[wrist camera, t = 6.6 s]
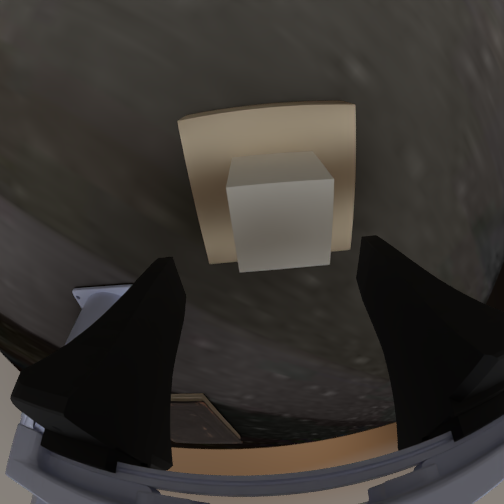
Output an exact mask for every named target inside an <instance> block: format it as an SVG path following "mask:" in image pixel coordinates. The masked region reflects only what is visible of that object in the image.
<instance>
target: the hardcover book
mask: <svg viewBox="0 0 504 504" xmlns="http://www.w3.org/2000/svg"><path fill="white" fill-rule="evenodd" d="M170 434H171V440H172V441H174V442H179V443H201V444H232V443H242V441H241V440H240V435H239V434H238V433H237V432H236V431H235V430H234V429H233V427H232V426H231V425H230V424H229V423H228V422H227V421H226V420H225V419H224V418H223V416H222V415H221V414H220V413H219V412H218V411H217V410H216V408H215V407H214V406H213V405H212V404H211V403H210V401H209V400H208V399H207V398H206V397H205V395H204V394H203V393H198V394H171V407H170Z"/></svg>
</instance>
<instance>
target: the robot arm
mask: <svg viewBox="0 0 504 504" xmlns="http://www.w3.org/2000/svg"><path fill="white" fill-rule="evenodd" d="M356 279H357V283H358V286H359V290H360V293H361V297H362V300H363V302H364V305H365V307H366V310H367V312H368V314H369V317H370V319H371V322H372V324H373V326H374V329H375V331H376V334H377V336H378V339H379V341H380V344H381V346H382V349H383V352H384V356H385V360H386V364H387V368H388V372H389V376H390V381H391V387H392V392H393V398H394V405H395V413H396V423H397V437H398V450H399V451H397V452H393V453H390V454H387V455H383V456H380V457H376V458H372V459H369V460H365V461H361V462H356V463H352V464H347V465H342V466H337V467H332V468H326V469H320V470H313V471H305V472H298V473H287V474H275V475H255V476H221V475H202V474H189V473H179V472H171V471H166V470H168V469H170V468H171V467H172V466H173V463H172V451H171V434H170V407H171V387H172V375H173V368H174V363H175V358H176V353H177V349H178V344H179V340H180V335H181V330H182V326H183V321H184V314H185V303H186V294H185V291H184V289H183V286H182V283H181V280H180V278H179V275H178V272H177V269H176V266H175V263H174V260H173V257H166V258H158V259H157V260H156V261H155V262H153V263H152V264H151V266H150V267H149V268H148V269H147V270H146V271H145V272H144V273H143V274H142V275H141V276H140V277H139V278H138V279H137V280H136V282H135V283H134V284H127V285H114V286H100V287H85V288H74V289H73V291H72V293H73V295H74V297H75V298H76V300H77V302H78V303H79V305H80V306H81V308H82V310H81V312H80V314H79V316H78V318H77V320H76V322H75V324H74V326H73V329H72V331H71V333H70V335H69V337H68V339H67V341H66V343H65V346H63V347H62V348H60V349H59V350H57V351H56V352H54V353H52V354H51V355H49V356H47V357H46V358H44V359H42V360H40V361H39V362H37V363H35V364H33V365H31V366H29V367H27V368H25V369H23V370H22V371H21V372H20V375H19V377H18V380H17V382H16V384H15V387H14V389H13V392H12V394H11V401H12V403H13V404H14V405H15V406H16V407H17V408H18V409H19V410H20V411H21V412H22V414H21V421H20V424H18V426H17V429H16V433H15V436H14V440H13V443H12V447H11V451H10V455H9V459H8V463H7V468H6V475H7V476H8V477H9V478H11V479H12V480H14V481H15V482H16V483H18V484H19V485H21V486H22V487H24V488H25V489H27V490H28V491H30V492H31V493H32V494H33V496H32V500H31V504H210V503H204V502H197V501H192V500H189V499H183V498H176V497H171V496H165V495H161V494H160V492H159V491H158V490H157V489H159V490H165V491H172V492H179V493H187V494H196V495H208V496H209V495H210V496H228V497H255V496H256V497H258V496H277V495H290V494H300V493H308V492H315V491H322V490H328V489H333V488H338V487H344V486H348V485H353V484H357V483H361V482H365V481H369V480H373V479H376V478H380V477H383V476H387V475H390V474H393V473H396V472H399V471H402V470H405V469H408V468H411V467H413V466H416V465H417V466H416V467H415V468H414V471H413V472H411V473H408V474H405V475H403V476H400V477H397V478H394V479H392V480H388V481H386V482H385V483H383V484H380V485H377V486H375V487H372V488H369V490H368V495H369V501H368V502H364V503H360V504H474V503H475V502H476V501H478V500H479V499H480V498H482V497H483V496H484V495H486V494H487V493H488V492H490V491H491V490H492V489H493V488H494V487H496V486H497V485H498V484H499V483H500V482H502V481H503V480H504V312H503V311H500V310H498V309H495V308H493V307H490V306H488V305H486V304H483V303H481V302H479V301H477V300H475V299H473V298H471V297H469V296H467V295H465V294H463V293H461V292H460V291H458V290H456V289H454V288H453V287H451V286H449V285H448V284H446V283H444V282H443V281H441V280H439V279H438V278H436V277H435V276H433V275H432V274H430V273H429V272H427V271H426V270H424V269H423V268H422V267H420V266H419V265H417V264H416V263H414V262H413V261H412V260H410V259H409V258H408V257H406V256H405V255H404V254H402V253H401V252H399V251H398V250H397V249H395V248H394V247H393V246H391V245H390V244H388V243H387V242H386V241H384V240H383V239H381V238H380V237H378V236H376V235H375V236H365V237H362V239H361V247H360V255H359V263H358V270H357V277H356Z"/></svg>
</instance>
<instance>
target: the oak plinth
mask: <svg viewBox="0 0 504 504" xmlns="http://www.w3.org/2000/svg"><path fill="white" fill-rule="evenodd" d="M177 122H178V127H179V132H180V137H181V142H182V147H183V152H184V157H185V162H186V166H187V171H188V176H189V180H190V185H191V189H192V193H193V198H194V202H195V207H196V211H197V215H198V219H199V223H200V228H201V232H202V236H203V240H204V244H205V248H206V252H207V256H208V260H209V264H216V263H226V262H236V261H238V260H237V254H236V248H235V241H234V235H233V229H232V223H231V217H230V210H229V204H228V198H227V191H226V185H227V180H228V175H229V170H230V165H231V160H232V157H240V156H250V155H260V154H272V153H286V152H303V151H313V152H314V154H315V155H316V156H317V157H318V159H319V160H320V161H321V162H322V164H323V165H324V166H325V168H326V169H327V170H328V172H329V173H330V174H331V176H332V177H333V178H334V202H333V224H332V240H331V252H332V251H342V250H350V246H351V236H352V224H353V210H354V193H355V168H356V112H355V105H354V104H351V103H348V102H344V101H298V102H281V103H268V104H258V105H249V106H240V107H232V108H225V109H219V110H212V111H206V112H201V113H195V114H190V115H186V116H184V117H183V118H181V119H180V120H178V121H177Z"/></svg>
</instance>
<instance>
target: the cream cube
mask: <svg viewBox="0 0 504 504" xmlns="http://www.w3.org/2000/svg"><path fill="white" fill-rule="evenodd" d="M226 191H227V198H228V204H229V210H230V217H231V223H232V229H233V235H234V241H235V248H236V254H237V260H238V266H239V272H252V271H264V270H275V269H287V268H298V267H308V266H319V265H329V264H330V254H331V240H332V224H333V202H334V178H333V177H332V176H331V174H330V173H329V172H328V170H327V169H326V168H325V166H324V165H323V164H322V162H321V161H320V160H319V159H318V157H317V156H316V155H315V154H314V152H313V151H303V152H286V153H272V154H260V155H250V156H240V157H232V160H231V165H230V170H229V175H228V180H227V185H226Z"/></svg>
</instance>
